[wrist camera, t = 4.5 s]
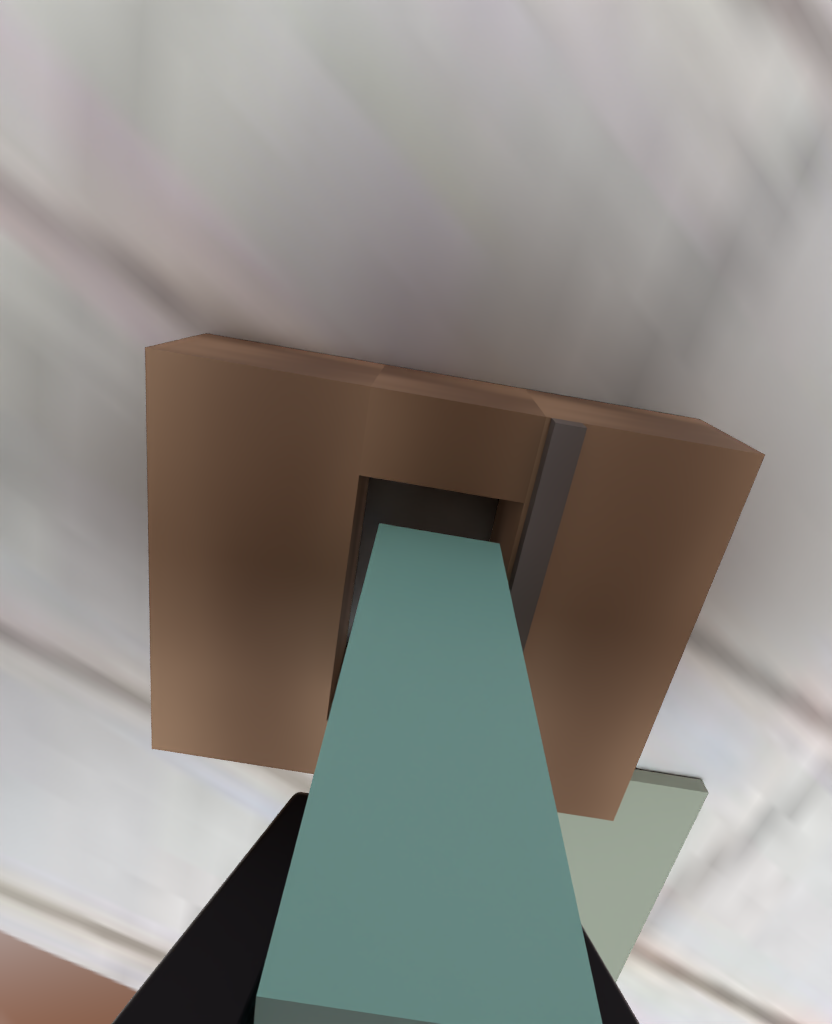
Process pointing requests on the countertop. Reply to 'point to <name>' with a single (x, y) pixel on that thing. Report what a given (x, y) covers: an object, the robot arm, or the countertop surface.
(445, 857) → the tall teal box
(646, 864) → the mat
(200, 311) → the countertop surface
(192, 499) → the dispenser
